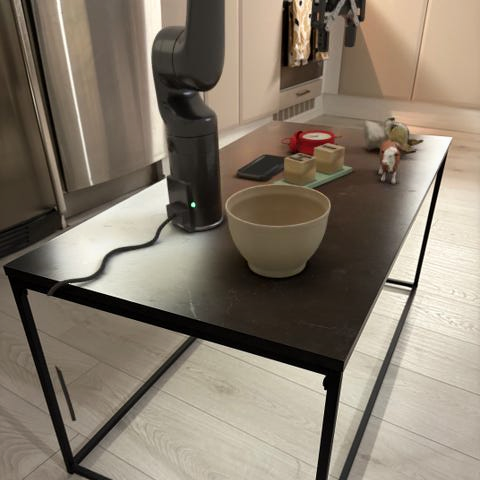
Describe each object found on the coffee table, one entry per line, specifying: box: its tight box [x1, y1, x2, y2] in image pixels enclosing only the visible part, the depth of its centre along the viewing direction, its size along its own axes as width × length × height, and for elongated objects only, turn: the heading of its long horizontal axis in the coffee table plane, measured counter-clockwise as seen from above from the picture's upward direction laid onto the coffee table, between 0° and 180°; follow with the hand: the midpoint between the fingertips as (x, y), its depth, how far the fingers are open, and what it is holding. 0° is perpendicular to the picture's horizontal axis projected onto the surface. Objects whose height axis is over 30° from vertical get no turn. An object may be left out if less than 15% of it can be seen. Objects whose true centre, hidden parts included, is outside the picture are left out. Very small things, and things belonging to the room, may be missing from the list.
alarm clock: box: [280, 129, 343, 156], centre depth 133 cm, size 10×6×15 cm
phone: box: [236, 153, 287, 182], centre depth 122 cm, size 8×1×15 cm
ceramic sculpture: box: [363, 117, 424, 156], centre depth 129 cm, size 11×9×15 cm
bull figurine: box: [377, 140, 401, 184], centre depth 113 cm, size 4×13×8 cm, turn 166°
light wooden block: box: [283, 152, 317, 186], centre depth 111 cm, size 5×5×5 cm
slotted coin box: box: [313, 143, 346, 174], centre depth 117 cm, size 5×5×5 cm
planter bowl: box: [224, 183, 332, 279], centre depth 80 cm, size 16×16×11 cm
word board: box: [271, 164, 354, 189], centre depth 116 cm, size 20×7×1 cm, turn 133°
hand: (336, 49), depth 104 cm, fingers open, 8 cm apart
